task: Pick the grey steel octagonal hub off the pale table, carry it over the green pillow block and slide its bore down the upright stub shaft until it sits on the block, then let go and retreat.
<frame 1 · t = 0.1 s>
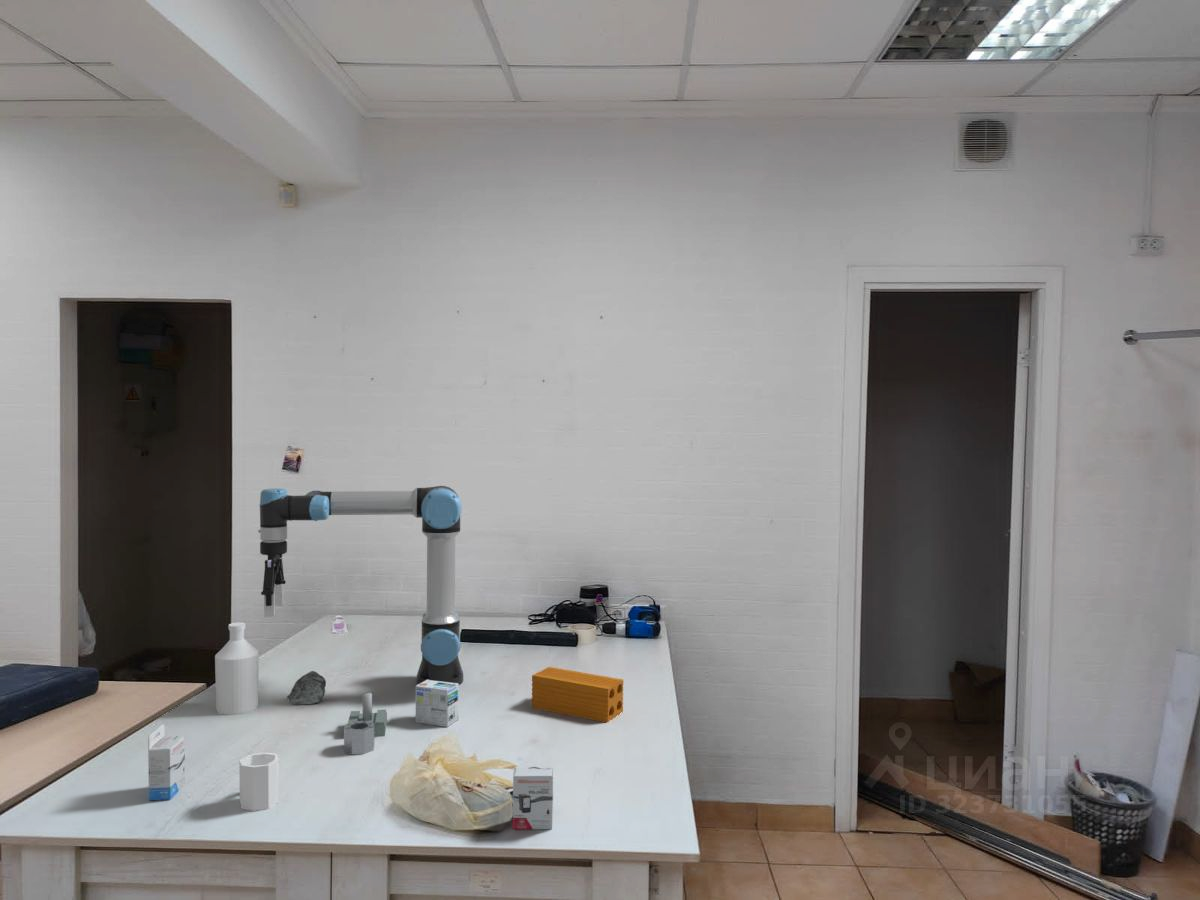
hand: (273, 611, 253), 28 cm above the table, fingers open, 13 cm apart
bottle: (237, 708, 249), on the table
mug: (262, 799, 191), on the table
ink box: (167, 793, 194), on the table
pillow block: (367, 730, 233), on the table
light bulb box: (437, 722, 241), on the table
brick: (577, 711, 252), on the table
stone: (309, 701, 256), on the table
ink box 2: (532, 825, 181), on the table
hub: (359, 748, 220), on the table
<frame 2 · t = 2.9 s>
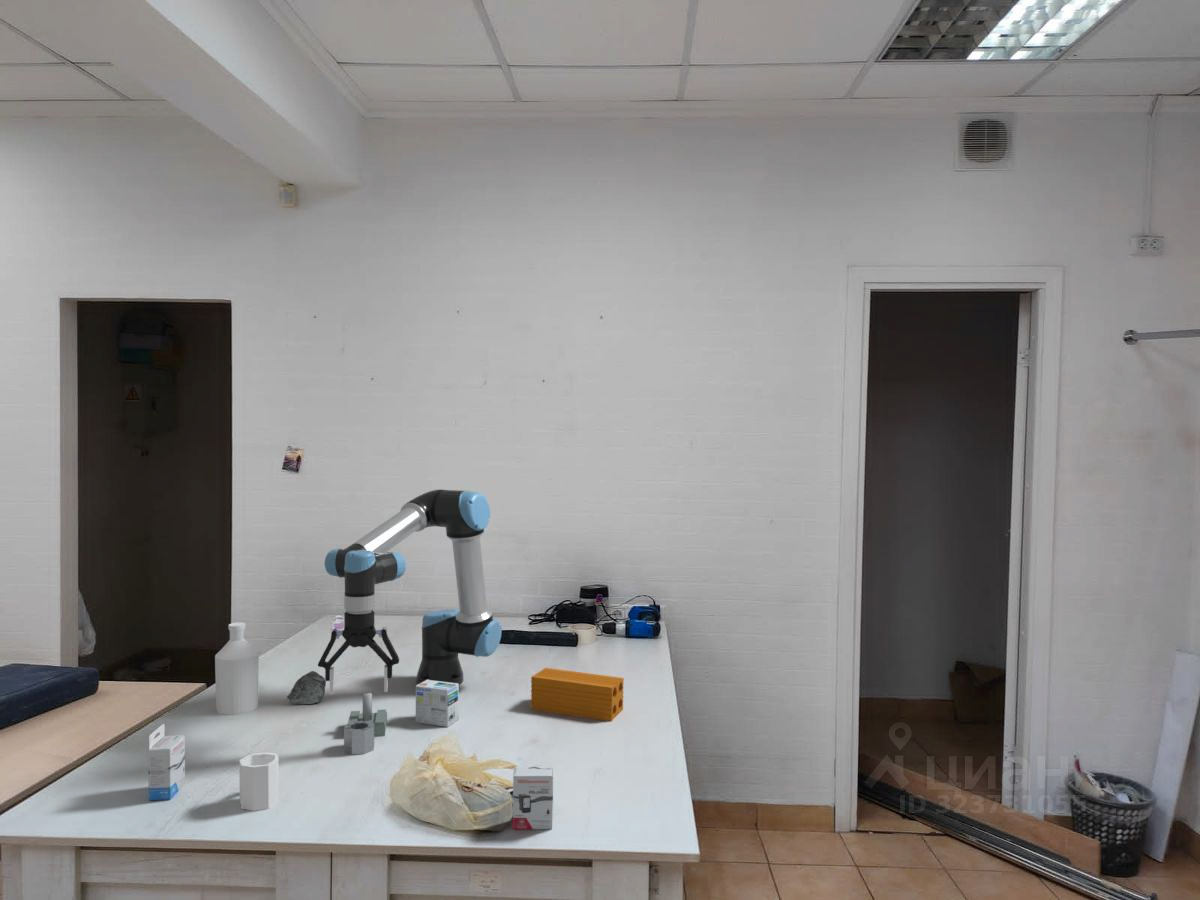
hand: (358, 691, 220), 15 cm above the table, fingers open, 13 cm apart
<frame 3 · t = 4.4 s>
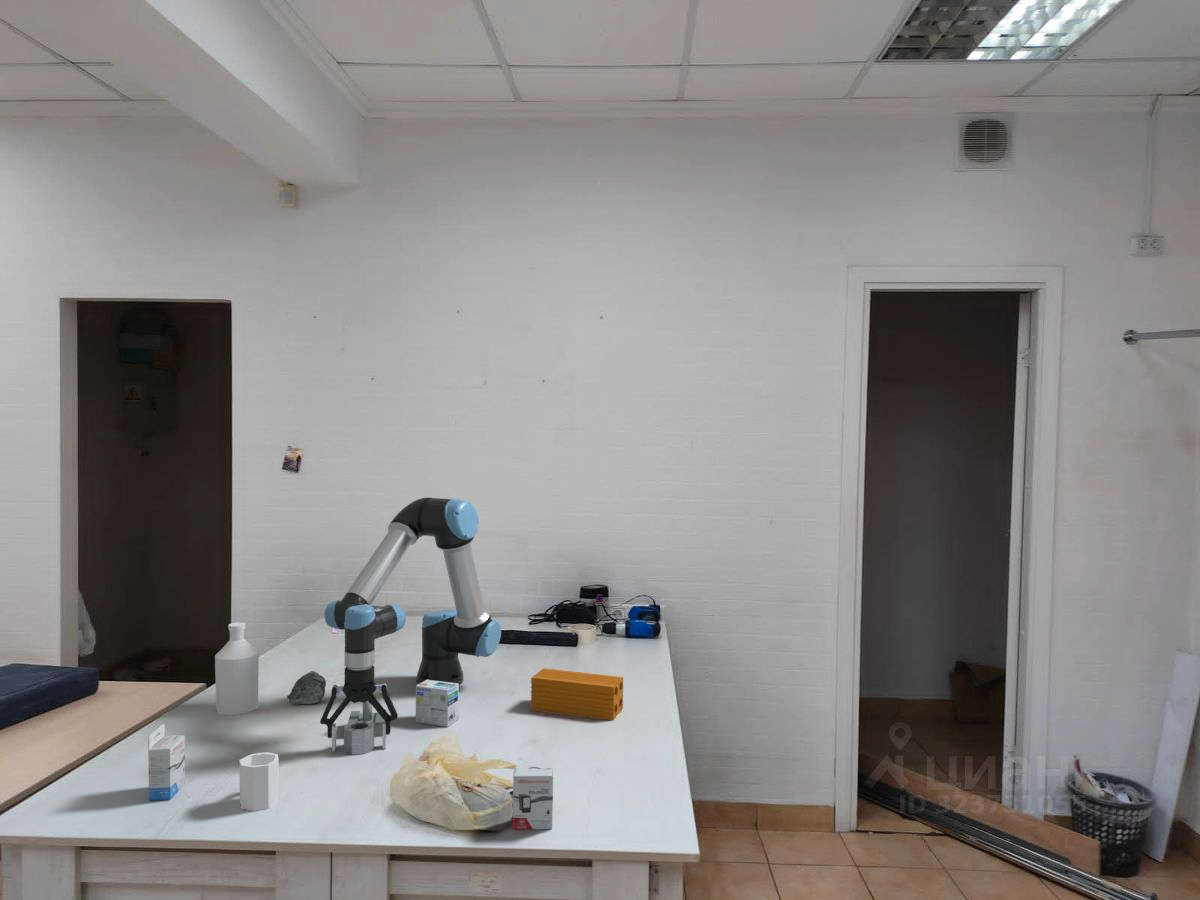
hand: (359, 748, 220), 0 cm above the table, fingers open, 12 cm apart
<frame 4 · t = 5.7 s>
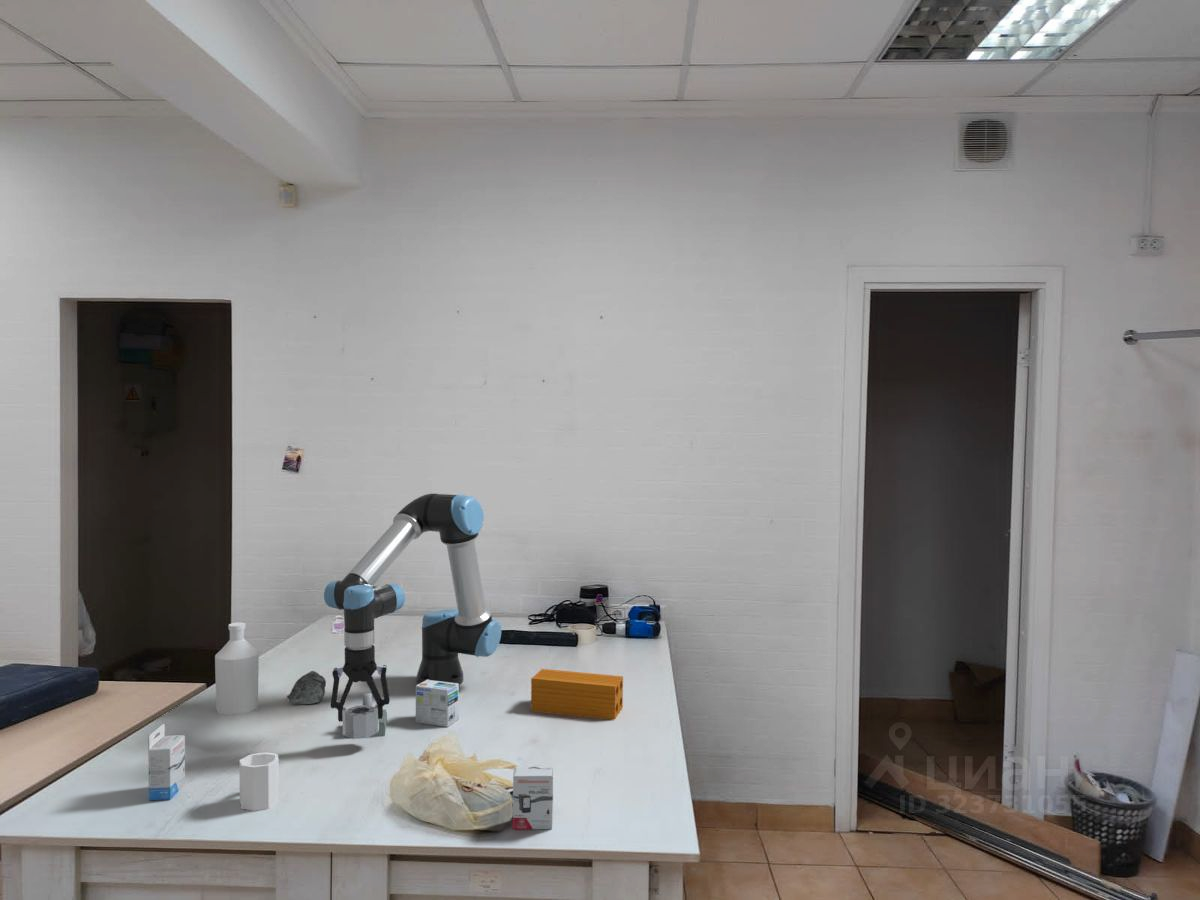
hand: (360, 731, 221), 4 cm above the table, fingers closed on hub, 7 cm apart
hub: (360, 732, 221), point 4 cm above the table, touching gripper
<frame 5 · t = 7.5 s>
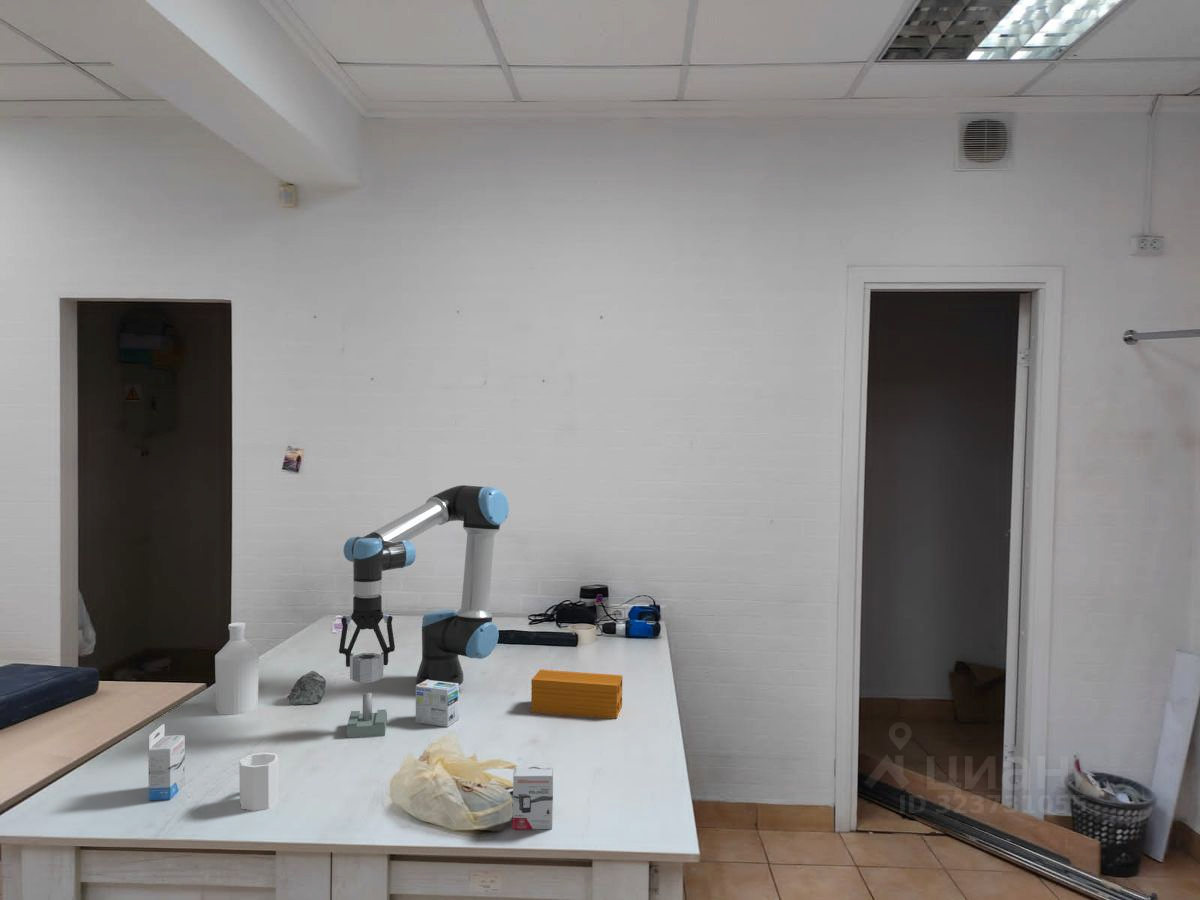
hand: (367, 677, 233), 15 cm above the table, fingers closed on hub, 7 cm apart
hub: (367, 678, 233), point 15 cm above the table, touching gripper
when the fingers open (4 cm above the table, at t = 9.2 s): hub stays where it is, resting on pillow block.
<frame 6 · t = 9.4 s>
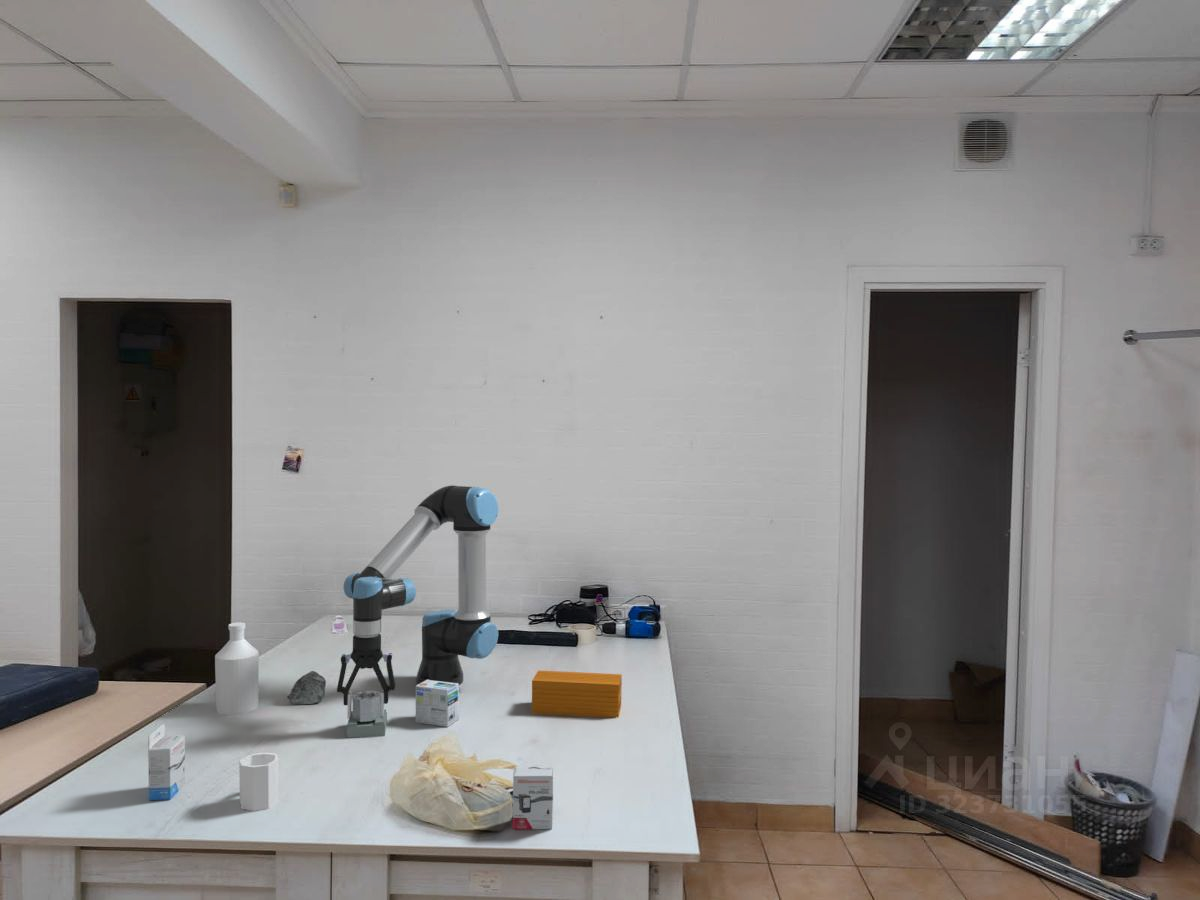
hand: (365, 715, 233), 4 cm above the table, fingers open, 8 cm apart
hub: (367, 716, 233), point 4 cm above the table, touching gripper, pillow block
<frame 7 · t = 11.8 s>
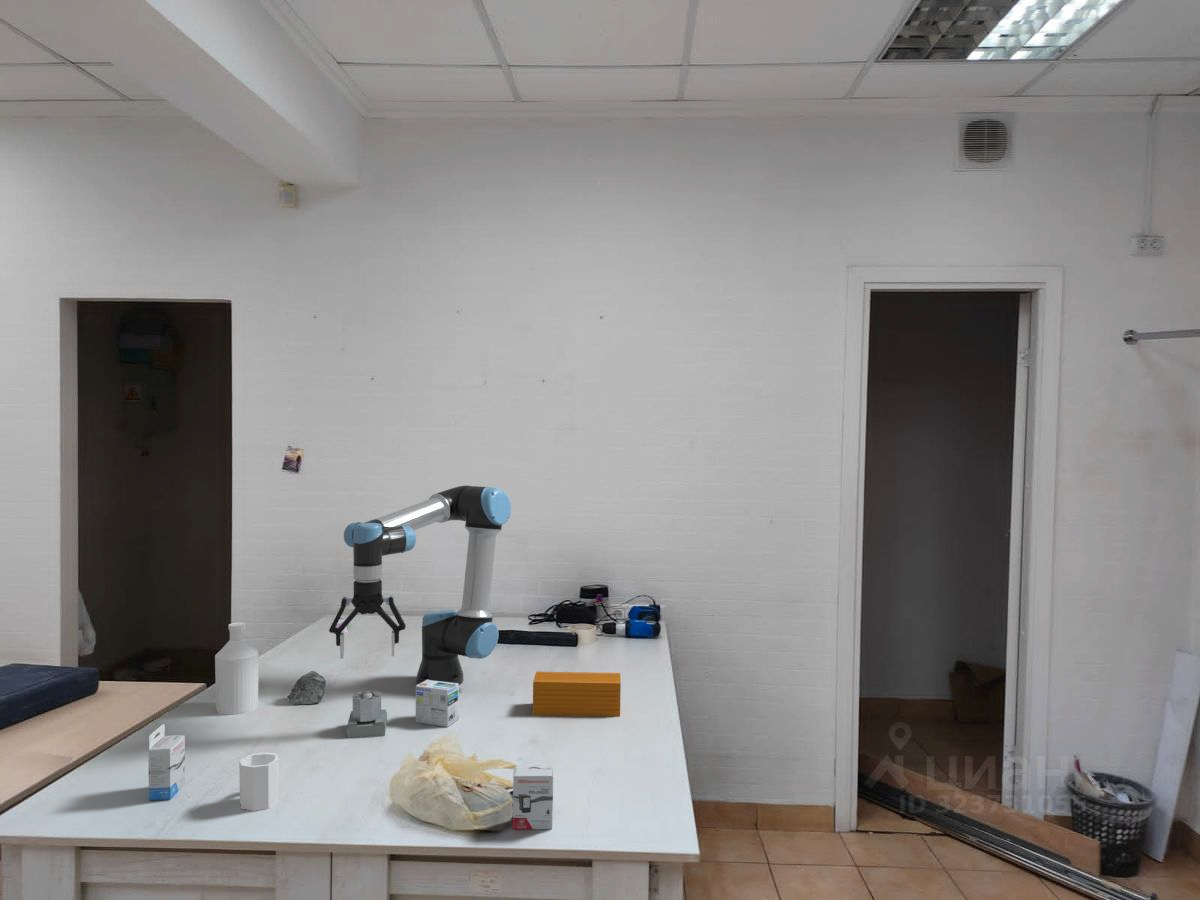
hand: (367, 656, 233), 21 cm above the table, fingers open, 13 cm apart
hub: (367, 716, 233), point 4 cm above the table, touching pillow block
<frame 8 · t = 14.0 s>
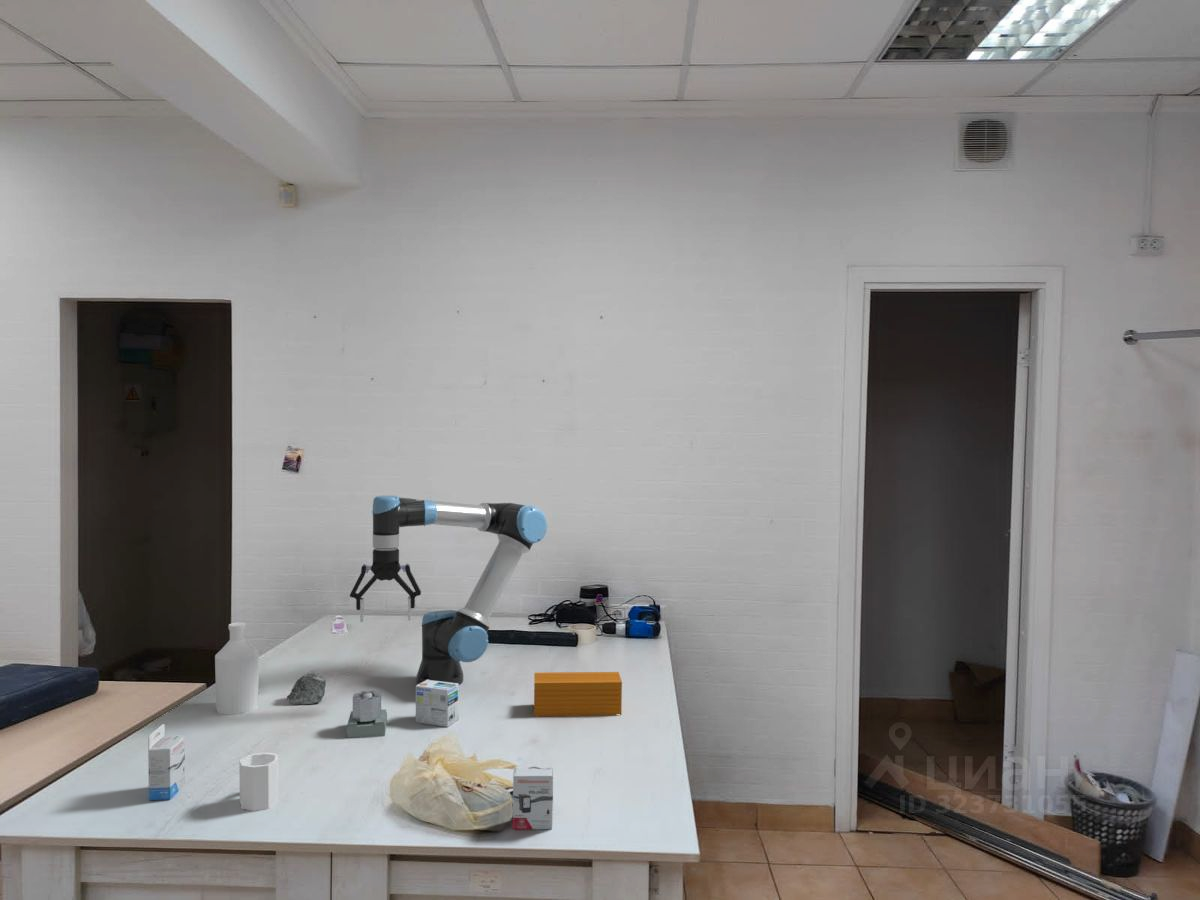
hand: (385, 620, 249), 27 cm above the table, fingers open, 13 cm apart
at the end: hub 0.1 cm off-centre on the pillow block, point 3.8 cm above the pillow block's base; hub tilted 0°; the gripper is holding nothing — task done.
